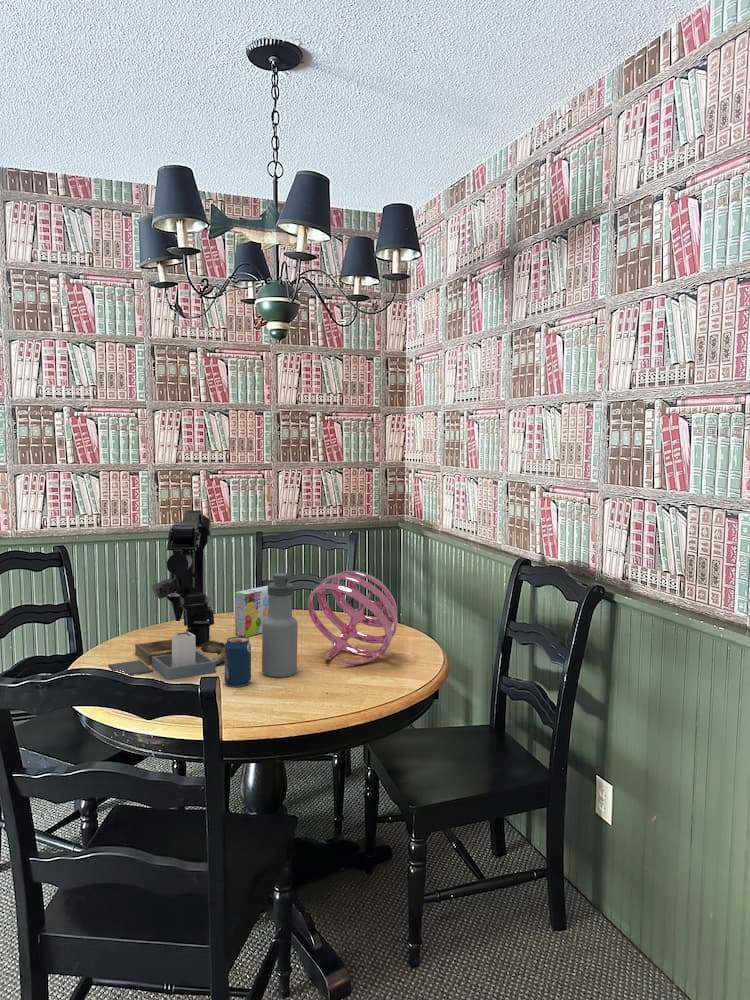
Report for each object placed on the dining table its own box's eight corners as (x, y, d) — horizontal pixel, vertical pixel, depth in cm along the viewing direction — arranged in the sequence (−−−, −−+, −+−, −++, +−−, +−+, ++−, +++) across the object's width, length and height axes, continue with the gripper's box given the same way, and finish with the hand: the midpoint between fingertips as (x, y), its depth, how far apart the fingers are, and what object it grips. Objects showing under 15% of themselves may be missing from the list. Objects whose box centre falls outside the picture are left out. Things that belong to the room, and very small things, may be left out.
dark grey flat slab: (140, 661, 213) (140, 660, 213) (153, 672, 203) (153, 670, 203) (108, 666, 208) (108, 664, 208) (120, 677, 198) (120, 675, 198)
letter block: (188, 666, 210) (189, 631, 209) (195, 670, 206) (195, 635, 205) (171, 668, 207) (172, 633, 206) (177, 673, 203) (178, 637, 202)
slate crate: (197, 660, 216) (197, 650, 216) (215, 672, 205) (215, 661, 204) (151, 667, 208) (151, 656, 208) (167, 680, 197) (167, 669, 197)
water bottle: (263, 667, 210) (264, 570, 209) (297, 667, 211) (299, 571, 209) (260, 678, 200) (261, 576, 198) (296, 678, 201) (297, 577, 199)
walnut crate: (179, 647, 229) (179, 638, 229) (194, 658, 218) (194, 648, 218) (135, 653, 221) (135, 644, 221) (149, 665, 210) (149, 654, 210)
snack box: (277, 624, 263) (278, 582, 262) (289, 626, 260) (289, 584, 259) (234, 635, 246) (234, 591, 245) (246, 638, 243) (246, 593, 242)
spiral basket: (335, 611, 196) (381, 546, 214) (270, 619, 215) (317, 559, 233) (388, 684, 205) (428, 616, 223) (321, 685, 224) (363, 623, 242)
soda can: (255, 681, 197) (256, 637, 196) (241, 689, 191) (241, 643, 190) (234, 678, 200) (234, 634, 199) (219, 685, 193) (219, 640, 193)
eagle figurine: (219, 652, 221) (195, 652, 214) (231, 634, 219) (207, 634, 212) (231, 670, 216) (207, 671, 209) (243, 652, 215) (219, 653, 207)
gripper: (144, 566, 208) (144, 621, 209) (166, 576, 192) (166, 635, 193) (182, 564, 214) (182, 616, 215) (206, 573, 199) (206, 630, 200)
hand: (183, 624), depth 205 cm, fingers open, 9 cm apart
